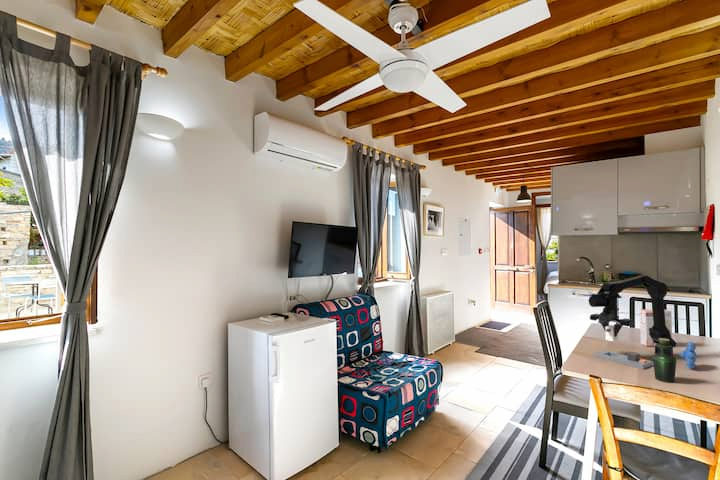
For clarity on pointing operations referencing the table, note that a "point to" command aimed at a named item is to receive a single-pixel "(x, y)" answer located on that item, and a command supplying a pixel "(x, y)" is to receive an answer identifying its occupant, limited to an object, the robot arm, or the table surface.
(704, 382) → the table surface
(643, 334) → the cracker box
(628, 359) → the gray block with hole
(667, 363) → the potion bottle
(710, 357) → the table surface
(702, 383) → the table surface
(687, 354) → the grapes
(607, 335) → the plug
